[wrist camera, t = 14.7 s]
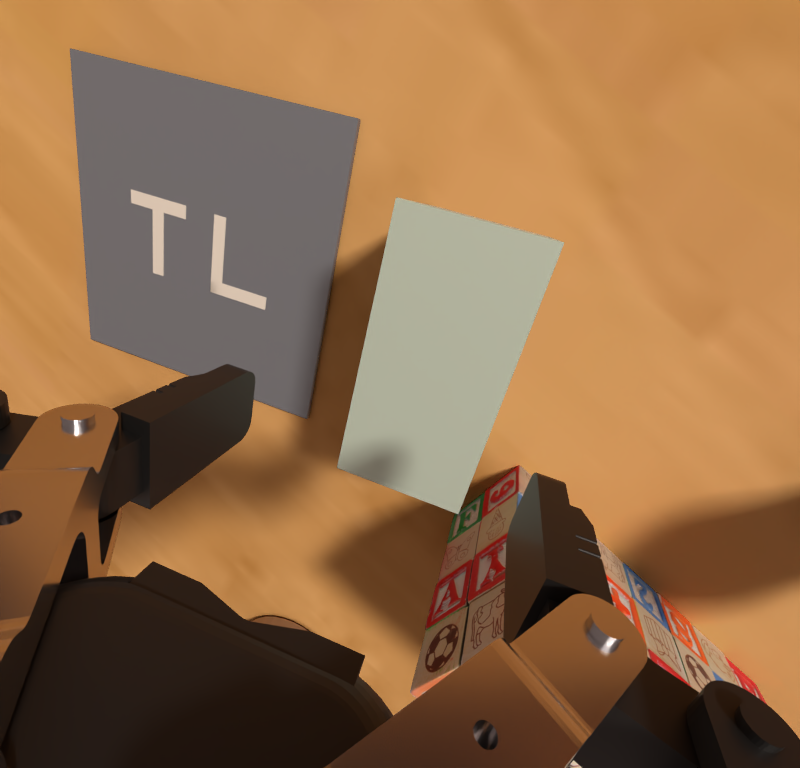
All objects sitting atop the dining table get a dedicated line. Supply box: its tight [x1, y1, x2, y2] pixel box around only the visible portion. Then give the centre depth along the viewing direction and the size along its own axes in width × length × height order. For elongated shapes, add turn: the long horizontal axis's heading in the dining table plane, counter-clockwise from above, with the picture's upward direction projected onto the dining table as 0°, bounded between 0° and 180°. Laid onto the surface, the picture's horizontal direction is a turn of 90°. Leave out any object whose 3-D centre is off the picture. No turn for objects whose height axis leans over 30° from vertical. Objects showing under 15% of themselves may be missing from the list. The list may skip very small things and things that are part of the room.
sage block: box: [337, 197, 564, 514], centre depth 20 cm, size 6×12×8 cm, turn 166°
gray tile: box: [70, 49, 360, 419], centre depth 26 cm, size 18×18×1 cm
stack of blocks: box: [410, 465, 766, 768], centre depth 22 cm, size 21×6×12 cm, turn 50°
